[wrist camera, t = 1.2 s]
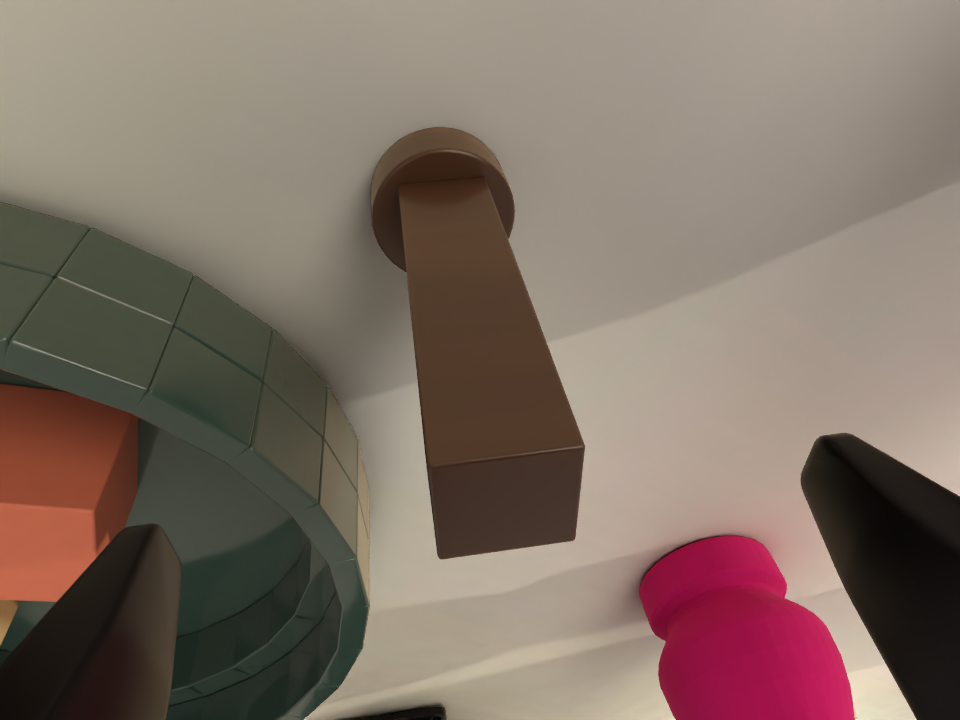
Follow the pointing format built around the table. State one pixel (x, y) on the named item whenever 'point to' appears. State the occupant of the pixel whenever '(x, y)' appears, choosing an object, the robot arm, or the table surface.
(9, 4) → the table surface
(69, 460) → the coral block
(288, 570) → the bowl
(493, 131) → the table surface
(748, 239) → the table surface
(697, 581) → the pepper mill
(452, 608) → the table surface
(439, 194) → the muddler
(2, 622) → the birch block
